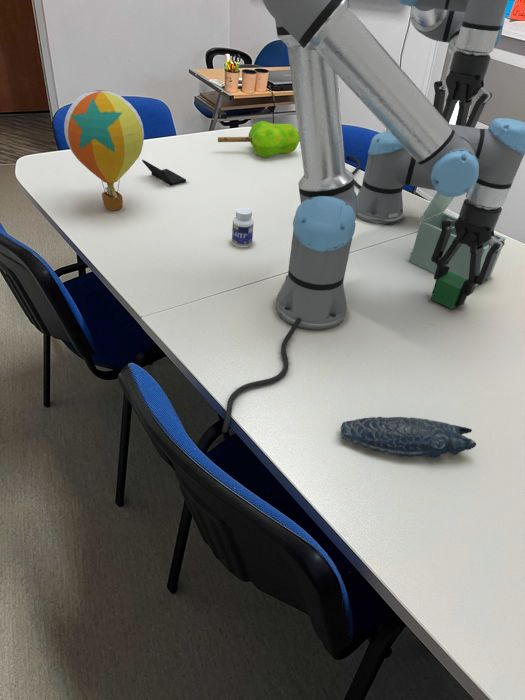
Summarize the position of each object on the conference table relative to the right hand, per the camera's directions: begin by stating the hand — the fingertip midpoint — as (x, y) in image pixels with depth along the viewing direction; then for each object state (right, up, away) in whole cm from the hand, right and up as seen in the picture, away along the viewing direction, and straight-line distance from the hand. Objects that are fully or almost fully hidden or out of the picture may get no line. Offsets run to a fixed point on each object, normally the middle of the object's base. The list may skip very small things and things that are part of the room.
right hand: (440, 164), depth 123 cm
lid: (+3, -5, 0) cm, 6 cm away
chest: (+5, -24, +9) cm, 26 cm away
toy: (-84, -4, +22) cm, 87 cm away
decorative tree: (-44, +28, +67) cm, 85 cm away
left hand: (0, -32, -4) cm, 33 cm away
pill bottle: (-48, -16, +12) cm, 52 cm away
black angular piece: (-73, +10, +41) cm, 85 cm away
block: (0, -33, -4) cm, 33 cm away
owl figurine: (-19, -59, -39) cm, 73 cm away
